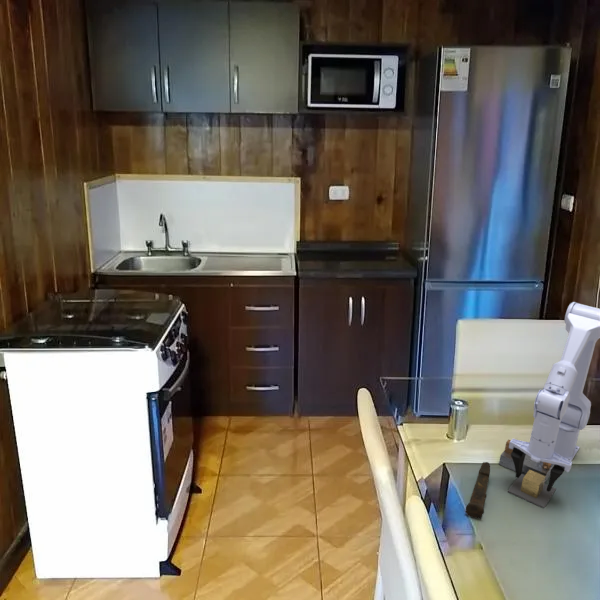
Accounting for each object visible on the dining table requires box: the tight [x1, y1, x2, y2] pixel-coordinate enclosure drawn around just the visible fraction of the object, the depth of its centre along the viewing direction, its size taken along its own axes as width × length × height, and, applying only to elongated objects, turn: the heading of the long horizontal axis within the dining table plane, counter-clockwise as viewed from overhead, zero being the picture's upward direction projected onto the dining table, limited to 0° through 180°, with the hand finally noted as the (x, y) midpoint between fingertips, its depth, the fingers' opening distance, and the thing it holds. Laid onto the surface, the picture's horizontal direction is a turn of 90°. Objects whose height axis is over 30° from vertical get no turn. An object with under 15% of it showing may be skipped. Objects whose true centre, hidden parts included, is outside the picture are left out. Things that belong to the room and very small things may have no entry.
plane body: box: [498, 439, 554, 484], centre depth 158 cm, size 6×12×6 cm, turn 51°
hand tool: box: [464, 461, 491, 519], centre depth 148 cm, size 19×4×5 cm, turn 153°
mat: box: [507, 474, 557, 509], centre depth 151 cm, size 9×9×1 cm
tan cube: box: [521, 470, 546, 498], centre depth 150 cm, size 4×4×4 cm
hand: (533, 482), depth 150 cm, fingers open, 7 cm apart
